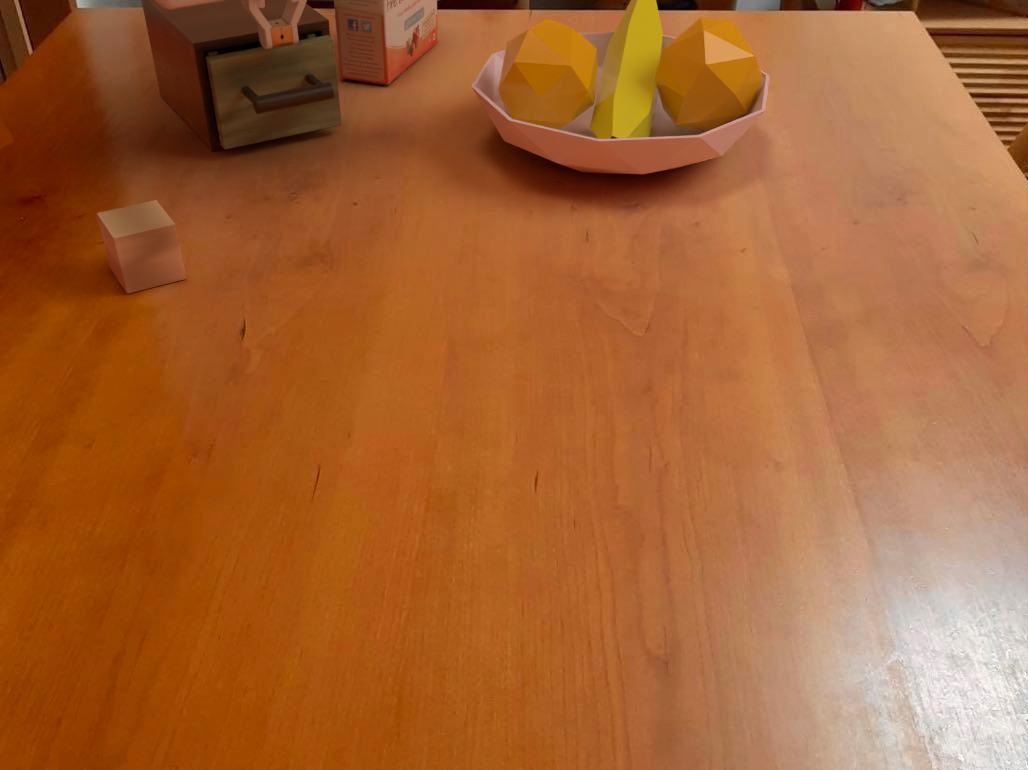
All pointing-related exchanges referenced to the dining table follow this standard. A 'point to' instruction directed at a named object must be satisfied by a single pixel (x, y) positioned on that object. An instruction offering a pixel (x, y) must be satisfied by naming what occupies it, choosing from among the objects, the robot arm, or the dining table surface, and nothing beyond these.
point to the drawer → (273, 90)
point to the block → (142, 246)
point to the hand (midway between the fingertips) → (279, 44)
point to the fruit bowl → (624, 93)
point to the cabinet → (203, 29)
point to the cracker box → (383, 37)
